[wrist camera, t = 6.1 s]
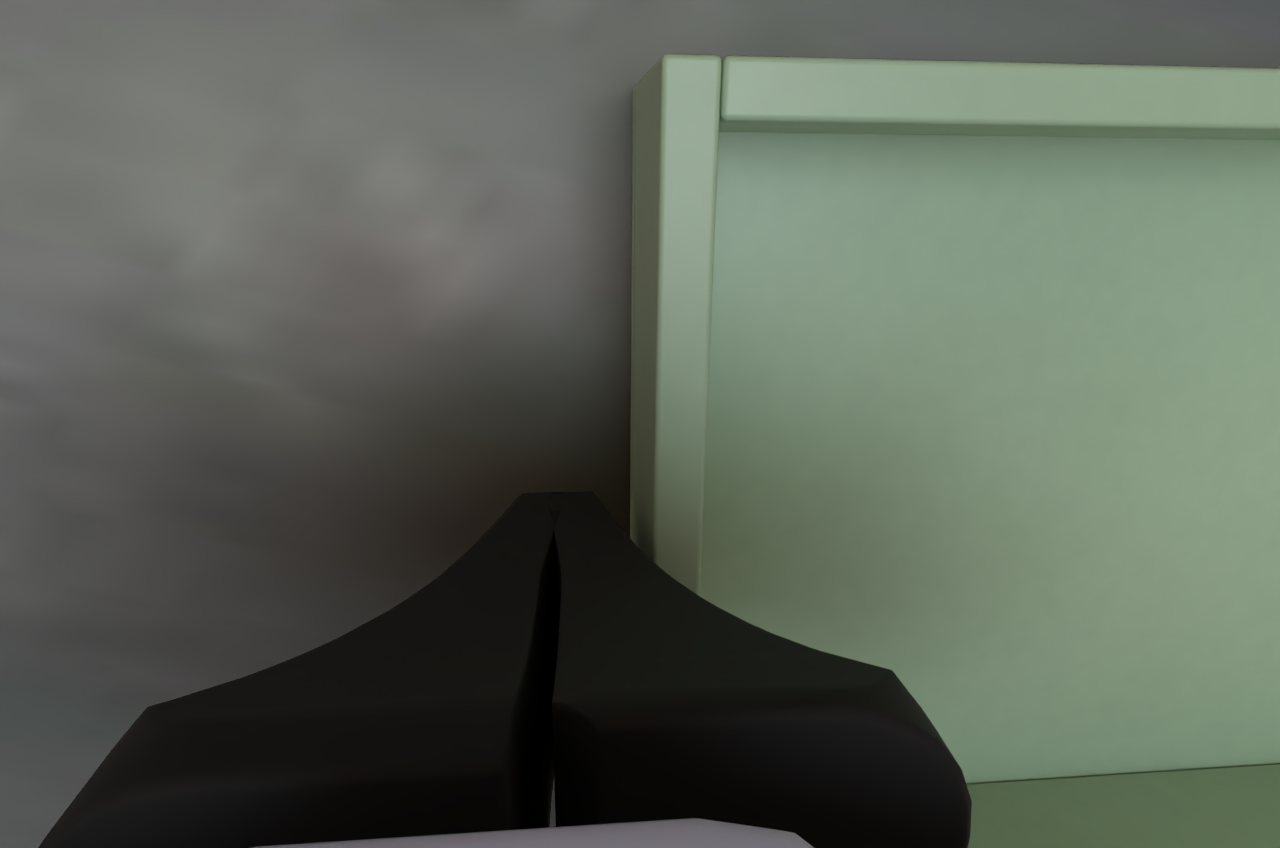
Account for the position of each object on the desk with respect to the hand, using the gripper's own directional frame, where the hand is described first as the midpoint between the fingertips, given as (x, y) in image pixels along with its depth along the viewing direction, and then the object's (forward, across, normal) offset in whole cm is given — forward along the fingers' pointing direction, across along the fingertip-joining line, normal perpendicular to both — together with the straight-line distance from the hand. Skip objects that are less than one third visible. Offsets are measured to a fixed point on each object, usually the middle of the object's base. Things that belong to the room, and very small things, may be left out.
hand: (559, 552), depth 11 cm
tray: (+1, -10, 0) cm, 10 cm away
